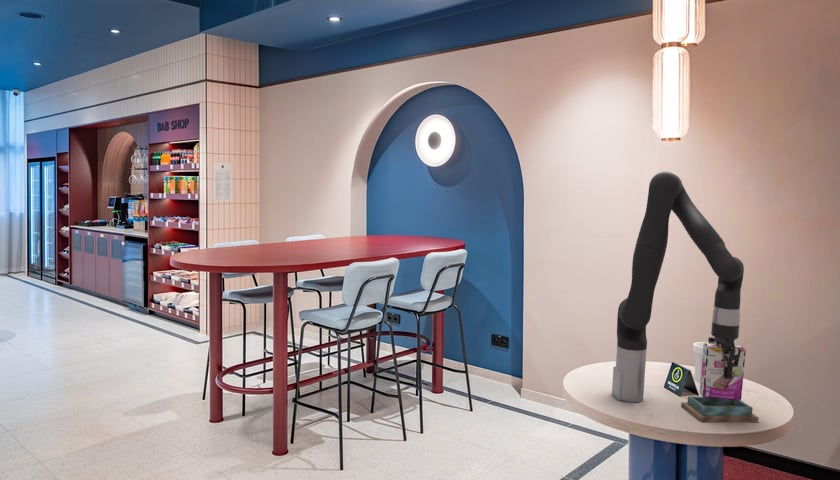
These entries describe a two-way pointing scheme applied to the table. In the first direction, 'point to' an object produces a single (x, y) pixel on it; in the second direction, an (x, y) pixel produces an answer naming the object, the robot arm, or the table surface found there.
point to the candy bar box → (720, 374)
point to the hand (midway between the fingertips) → (721, 375)
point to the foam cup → (698, 358)
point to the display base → (718, 410)
